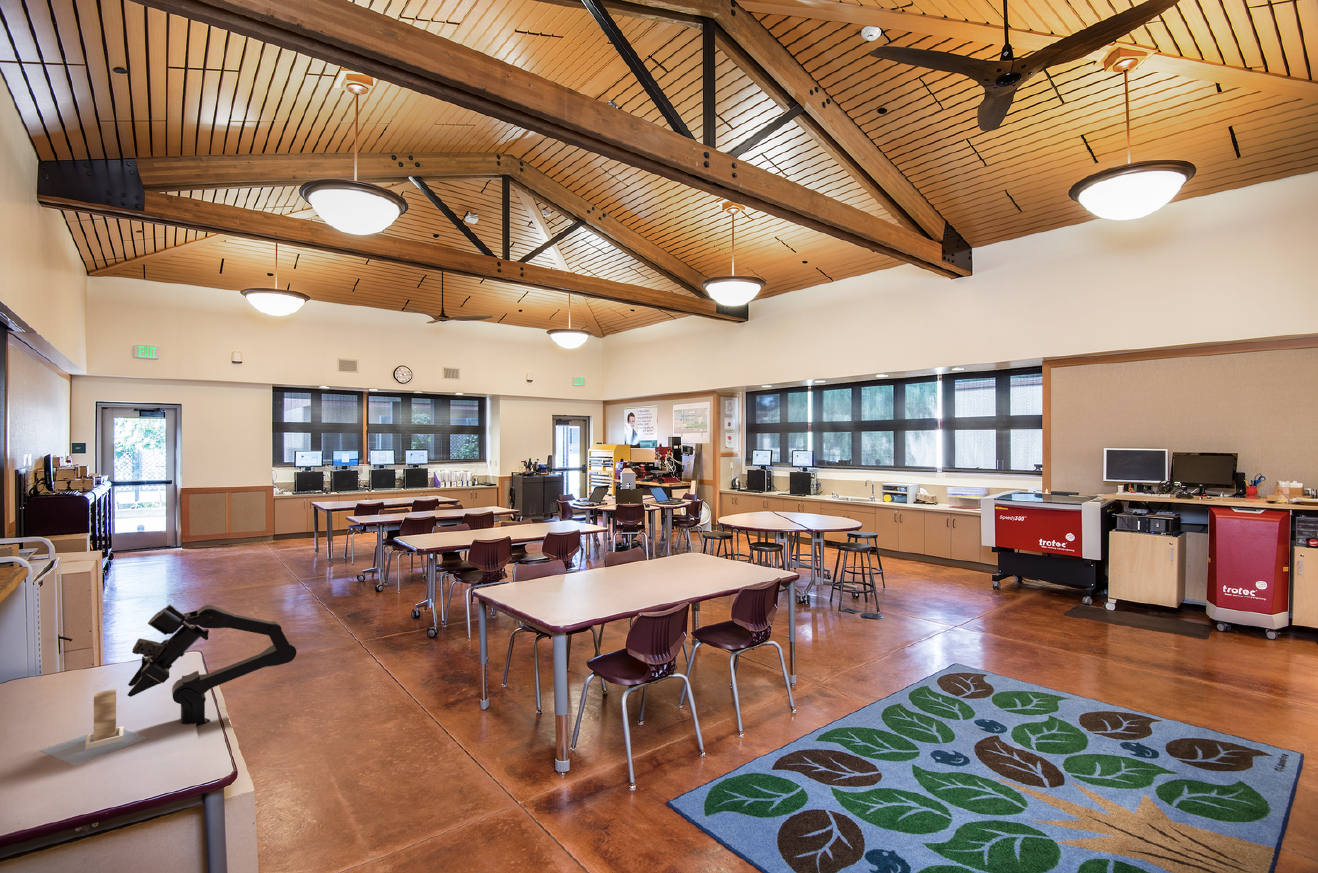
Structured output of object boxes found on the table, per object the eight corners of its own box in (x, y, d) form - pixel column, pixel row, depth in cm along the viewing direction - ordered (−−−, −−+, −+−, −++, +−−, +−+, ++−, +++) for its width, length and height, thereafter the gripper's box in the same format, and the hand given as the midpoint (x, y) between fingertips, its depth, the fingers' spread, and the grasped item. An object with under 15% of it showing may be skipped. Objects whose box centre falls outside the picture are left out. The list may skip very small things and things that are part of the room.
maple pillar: (116, 734, 174) (116, 689, 174) (115, 740, 171) (115, 694, 171) (94, 739, 172) (94, 693, 172) (93, 746, 168) (93, 698, 168)
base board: (147, 742, 172) (147, 738, 172) (74, 770, 158) (74, 765, 158) (113, 729, 180) (113, 725, 180) (40, 755, 166) (40, 750, 166)
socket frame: (123, 731, 177) (123, 725, 177) (122, 741, 171) (122, 735, 171) (87, 739, 172) (87, 734, 172) (85, 750, 166) (85, 744, 166)
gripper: (153, 620, 185) (103, 666, 178) (154, 636, 171) (100, 685, 164) (186, 641, 190) (139, 686, 183) (189, 658, 176) (138, 707, 169)
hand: (129, 690), depth 175 cm, fingers open, 9 cm apart
